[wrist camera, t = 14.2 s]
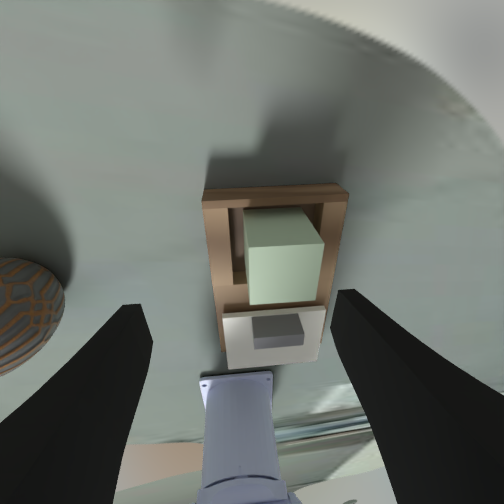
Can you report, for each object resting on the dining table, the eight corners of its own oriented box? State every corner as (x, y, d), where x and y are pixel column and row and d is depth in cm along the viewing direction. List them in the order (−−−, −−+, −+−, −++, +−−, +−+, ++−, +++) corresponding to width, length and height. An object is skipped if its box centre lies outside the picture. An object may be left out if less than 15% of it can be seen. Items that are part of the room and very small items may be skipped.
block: (296, 255, 20) (315, 300, 16) (244, 258, 19) (249, 304, 15) (300, 207, 18) (324, 243, 13) (243, 209, 17) (248, 247, 13)
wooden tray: (313, 324, 25) (321, 343, 23) (221, 332, 24) (221, 352, 23) (335, 183, 18) (349, 193, 16) (204, 189, 17) (201, 201, 15)
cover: (315, 356, 24) (323, 382, 22) (228, 364, 23) (228, 391, 21) (323, 305, 20) (335, 330, 18) (222, 313, 20) (222, 340, 18)
